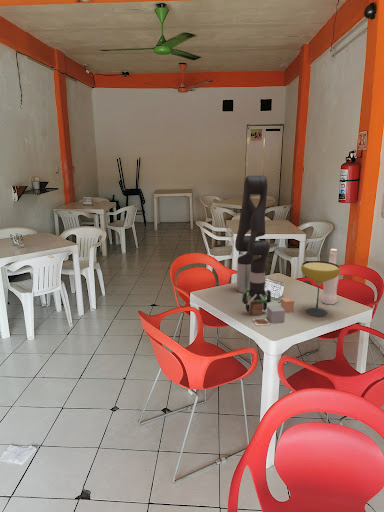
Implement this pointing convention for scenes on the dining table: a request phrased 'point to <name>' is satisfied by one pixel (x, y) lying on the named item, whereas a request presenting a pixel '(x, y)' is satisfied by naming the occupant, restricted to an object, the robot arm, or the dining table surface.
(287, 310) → the terracotta block
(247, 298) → the fruit basket
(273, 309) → the grey block
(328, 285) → the bottle
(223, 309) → the dining table surface
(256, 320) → the tile
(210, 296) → the dining table surface
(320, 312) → the cocktail glass
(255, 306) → the walnut block
